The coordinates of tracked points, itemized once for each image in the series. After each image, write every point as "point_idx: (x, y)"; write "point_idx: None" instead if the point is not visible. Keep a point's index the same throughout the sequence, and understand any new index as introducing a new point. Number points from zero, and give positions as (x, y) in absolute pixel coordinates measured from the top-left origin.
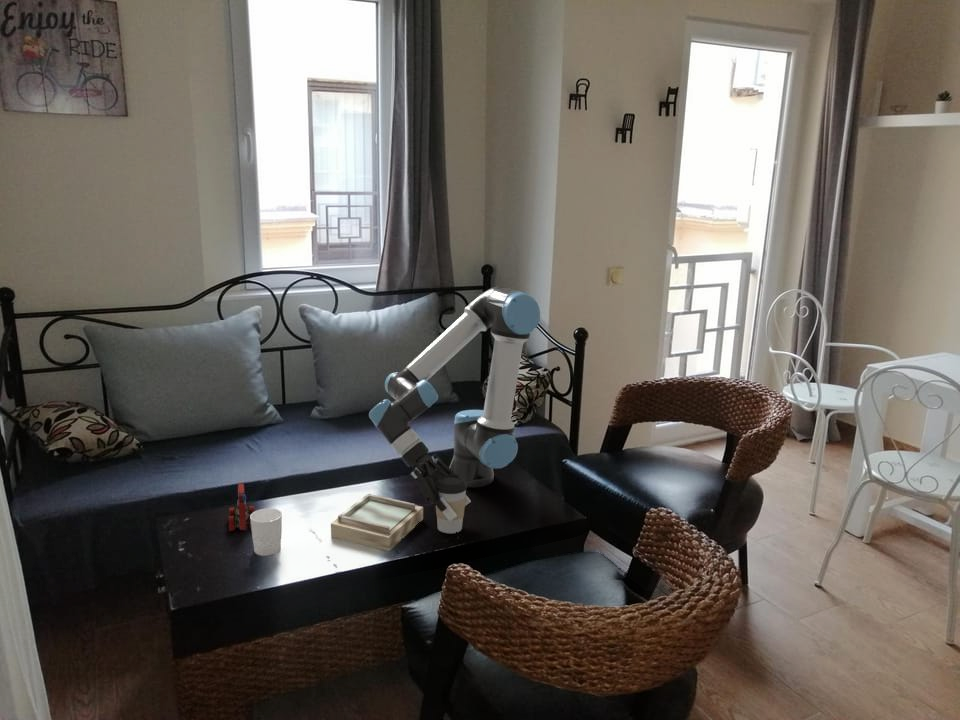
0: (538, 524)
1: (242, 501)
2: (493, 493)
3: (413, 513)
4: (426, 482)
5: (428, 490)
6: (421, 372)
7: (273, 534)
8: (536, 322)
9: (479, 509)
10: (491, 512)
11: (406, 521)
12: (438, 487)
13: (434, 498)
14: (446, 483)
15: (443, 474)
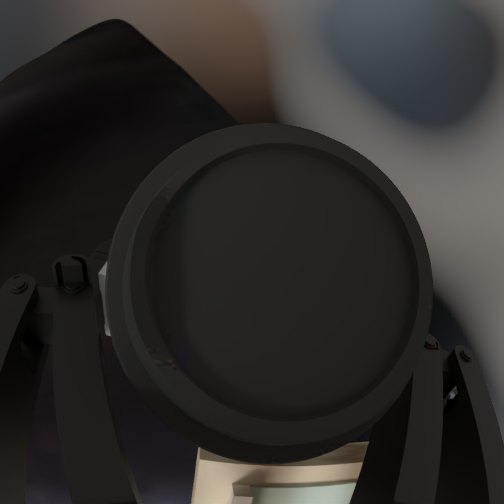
0: (148, 58)
1: None
2: None
3: (282, 474)
4: (484, 465)
5: (491, 406)
6: None
7: None
8: None
9: (57, 228)
10: (76, 181)
11: (361, 463)
12: (409, 378)
13: (466, 350)
14: (380, 311)
15: (114, 430)
